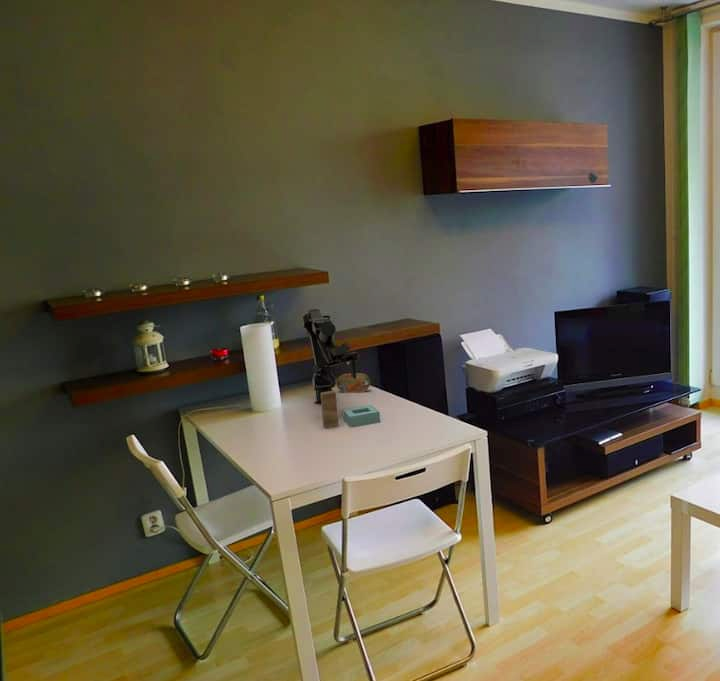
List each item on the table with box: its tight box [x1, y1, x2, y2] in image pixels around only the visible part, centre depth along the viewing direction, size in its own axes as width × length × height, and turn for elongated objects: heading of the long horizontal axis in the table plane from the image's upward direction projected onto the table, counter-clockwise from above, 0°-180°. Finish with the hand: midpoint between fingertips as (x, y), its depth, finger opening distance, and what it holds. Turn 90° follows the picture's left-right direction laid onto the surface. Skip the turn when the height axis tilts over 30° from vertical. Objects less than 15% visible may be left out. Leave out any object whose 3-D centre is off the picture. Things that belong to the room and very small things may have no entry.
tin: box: [336, 372, 371, 394], centre depth 271 cm, size 15×3×8 cm, turn 76°
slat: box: [320, 390, 339, 429], centre depth 226 cm, size 3×5×13 cm, turn 106°
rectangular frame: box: [342, 404, 381, 428], centre depth 230 cm, size 10×12×4 cm
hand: (345, 381), depth 232 cm, fingers open, 9 cm apart
